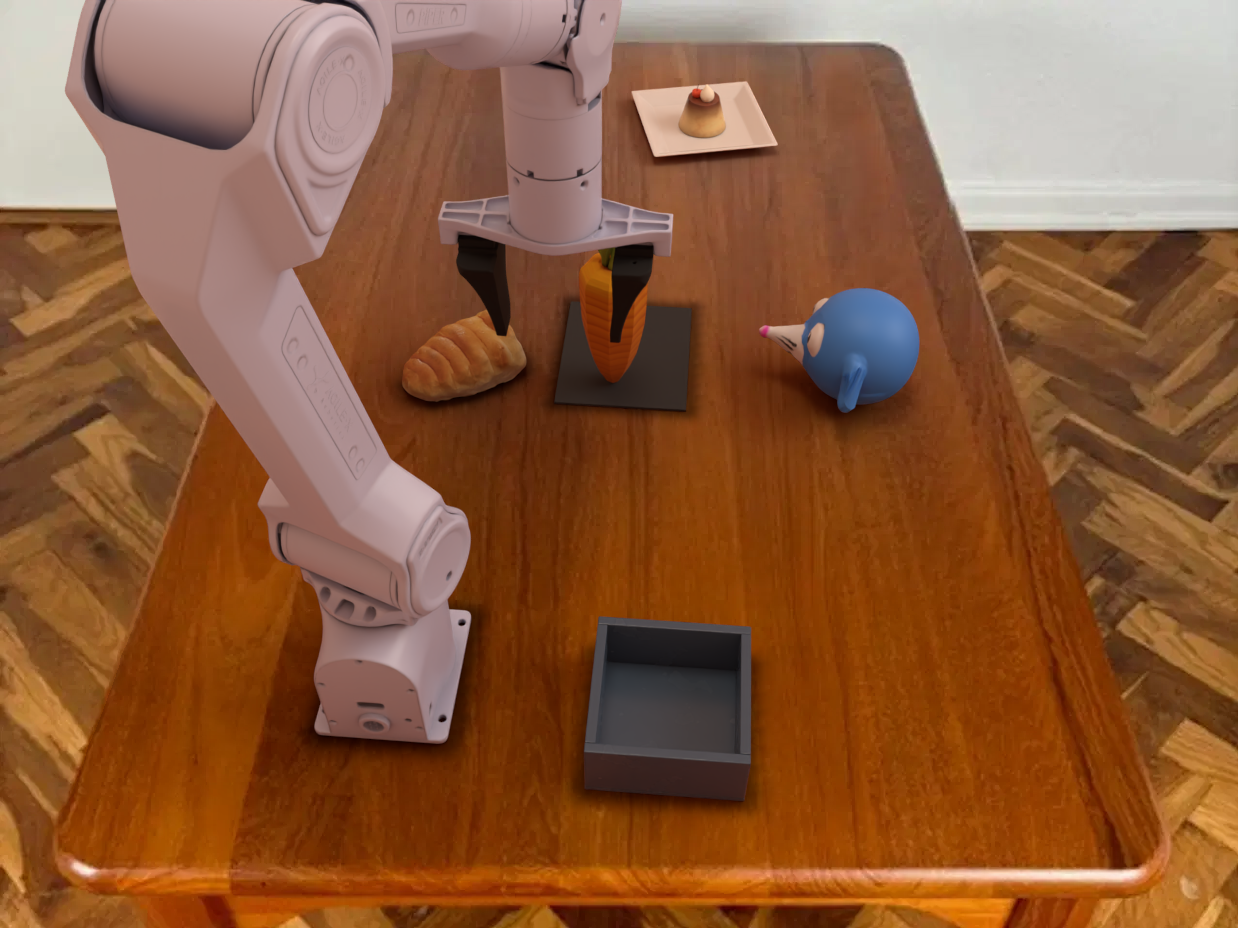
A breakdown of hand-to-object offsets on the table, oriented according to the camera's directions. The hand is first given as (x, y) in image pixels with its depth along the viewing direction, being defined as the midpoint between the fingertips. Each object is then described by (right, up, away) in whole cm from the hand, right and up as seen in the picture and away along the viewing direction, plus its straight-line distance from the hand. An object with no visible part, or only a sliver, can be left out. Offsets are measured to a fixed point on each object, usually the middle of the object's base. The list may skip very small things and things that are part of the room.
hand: (559, 329), depth 81 cm
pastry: (-8, -2, +12) cm, 15 cm away
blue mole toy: (+20, -3, +12) cm, 24 cm away
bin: (+7, -25, -9) cm, 27 cm away
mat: (+5, 0, +14) cm, 14 cm away
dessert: (+12, +24, +37) cm, 45 cm away
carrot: (+4, -3, +11) cm, 12 cm away
